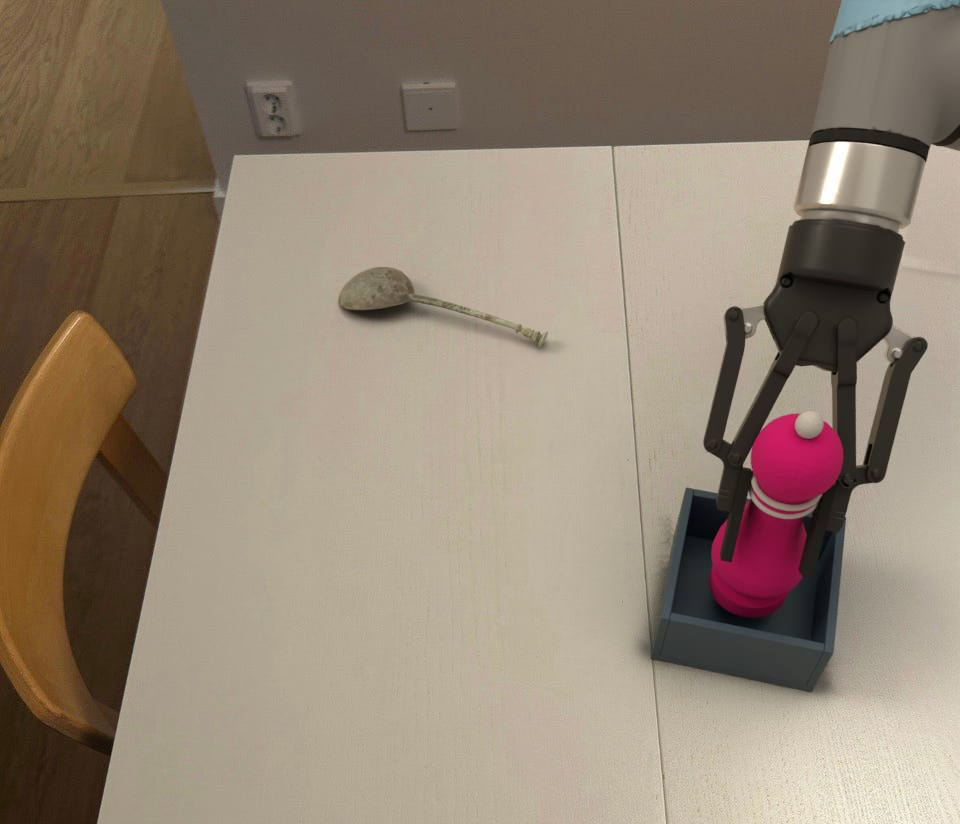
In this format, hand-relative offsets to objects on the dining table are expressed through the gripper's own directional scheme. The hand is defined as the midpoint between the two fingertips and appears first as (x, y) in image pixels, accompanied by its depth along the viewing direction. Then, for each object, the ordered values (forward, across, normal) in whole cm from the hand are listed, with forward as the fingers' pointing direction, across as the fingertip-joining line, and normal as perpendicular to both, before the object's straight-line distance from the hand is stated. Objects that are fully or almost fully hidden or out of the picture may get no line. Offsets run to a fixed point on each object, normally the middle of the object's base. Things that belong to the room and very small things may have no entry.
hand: (765, 565), depth 76 cm
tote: (+6, 0, -11) cm, 12 cm away
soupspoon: (-13, +33, -30) cm, 47 cm away
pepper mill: (+3, 0, -9) cm, 9 cm away
